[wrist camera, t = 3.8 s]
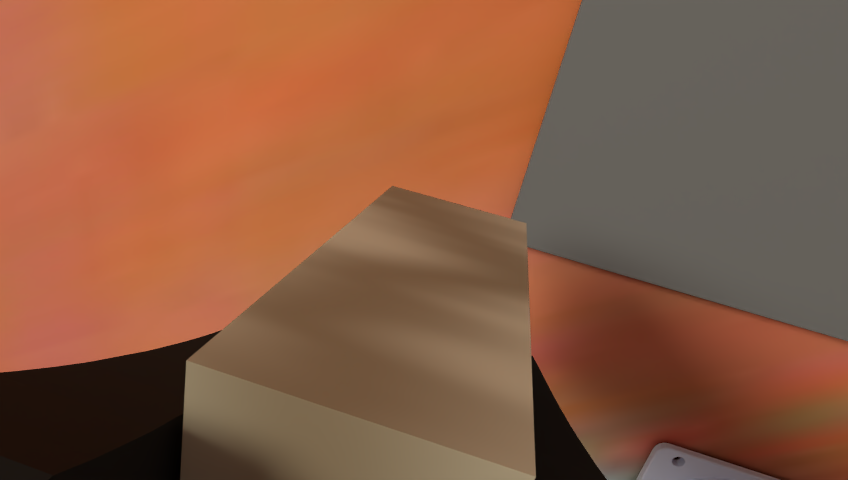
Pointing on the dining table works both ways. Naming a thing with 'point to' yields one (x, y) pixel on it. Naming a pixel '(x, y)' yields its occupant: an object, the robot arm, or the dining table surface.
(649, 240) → the mat
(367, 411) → the light wood block
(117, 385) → the robot arm
